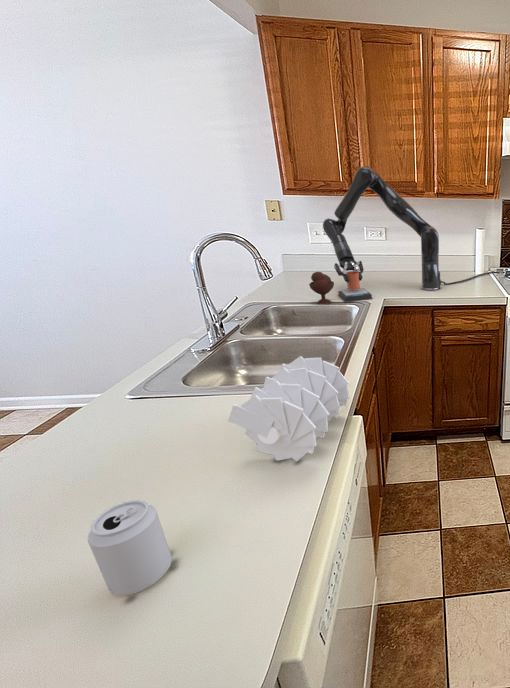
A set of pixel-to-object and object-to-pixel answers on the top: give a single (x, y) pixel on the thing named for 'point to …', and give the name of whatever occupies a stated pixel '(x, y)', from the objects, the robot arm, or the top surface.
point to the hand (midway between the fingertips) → (354, 280)
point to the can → (129, 547)
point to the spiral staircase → (293, 408)
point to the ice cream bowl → (321, 285)
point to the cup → (353, 280)
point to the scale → (354, 295)
